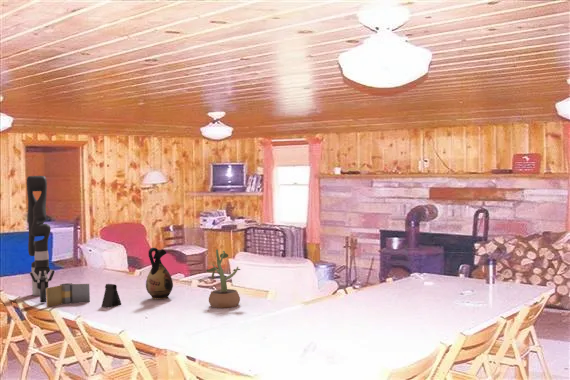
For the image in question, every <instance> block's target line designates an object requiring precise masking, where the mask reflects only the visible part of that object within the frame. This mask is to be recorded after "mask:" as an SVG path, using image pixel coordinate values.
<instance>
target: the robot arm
mask: <svg viewBox="0 0 570 380" xmlns="http://www.w3.org/2000/svg"><path fill="white" fill-rule="evenodd" d="M47 181H48V180H47V177H46V176H45V175H30V176H29V175H28V176H27V178H26V193H27V223H28V242H27V243H28V244H27V248H28V249H27V251H28V255H29V257H34V261H32V262H31V266H30V267H31V271H30V272H29V275H30V277H31V286H32V287H31V290H32V292H31V293H32V296H34V297H35V296H37V297H38V296H39V297H40V280H39V279H40V277H45V278H46V288H49V282H51V281H52V280H53V277H54V275H55V269H51V268H50V261H49V260H50V259H49V257H50V256H49V237H50V234H51V229H52V228H51V226H50V224H49V223H45V222H46V221H47V196H48V195H47V193H48V182H47ZM34 192H40V194H39V198H38V199H37V198H36V197H35V195H34ZM37 237H43V238H42V239H39V240H35V238H37ZM49 273H50V275H49Z"/></svg>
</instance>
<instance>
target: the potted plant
mask: <svg viewBox="0 0 570 380" xmlns="http://www.w3.org/2000/svg"><path fill="white" fill-rule="evenodd" d="M215 253H216V254H215V256H216V266H215V265H214V264H212V267H211V268H209V269H206V270H205V272H207V273H211V279H213V280H214V279H215V273H218V275H219V279H220V289H215V290H212V291H210V294H209V296H208V303H209V306H210V307H212V308H214V309H230V308H234V307H237V306H238V305H239V303H240V301H241V296H240V294H239V293H238V290H237V289H232V288H228V286H227V281H228V280H229V279H231V278H233V277H234V276H235V275H236V274H237V273H238V271H241V270H242V268H241V269H240V268H239V266H236V268H234V269H233V270H232V272H231V274H229V275H227V276H225V273H224V268H222V267H223V266H222V261H223V260H224V259H226V258H229V254H228V253H226V251H225V250H223V251H222V253H221V254H219V249H215Z"/></svg>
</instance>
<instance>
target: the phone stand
mask: <svg viewBox="0 0 570 380" xmlns="http://www.w3.org/2000/svg"><path fill="white" fill-rule="evenodd" d="M117 287H118V285H117V284H116V283H115V284H113V283H106V284H105V286H104V288H105V290H104V294H103V298H102V303H101V307H102V308H108V309H110V308H114V307H117V306H122V302H121V299H120V295H119V292H118V288H117Z"/></svg>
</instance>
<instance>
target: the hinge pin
mask: <svg viewBox="0 0 570 380" xmlns="http://www.w3.org/2000/svg"><path fill="white" fill-rule="evenodd" d="M39 280H40V296H39V303H47V300H46V278H45V277H40V279H39Z"/></svg>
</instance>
